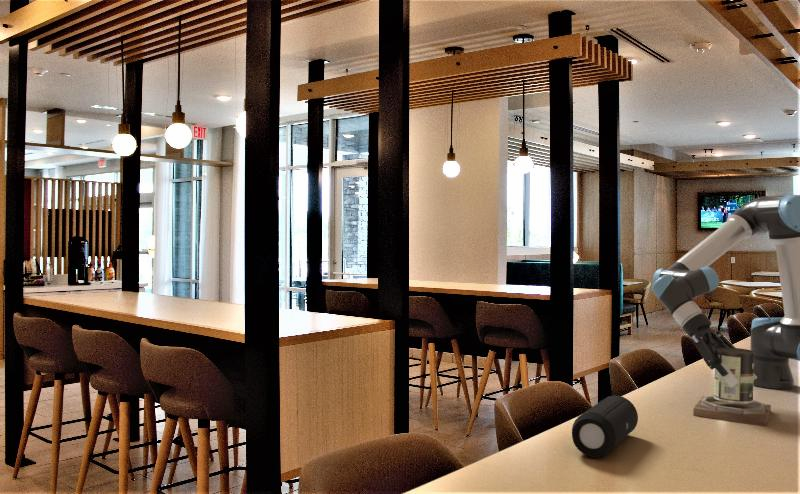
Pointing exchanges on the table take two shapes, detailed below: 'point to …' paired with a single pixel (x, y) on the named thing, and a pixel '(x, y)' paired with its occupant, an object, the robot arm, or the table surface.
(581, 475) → the table surface
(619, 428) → the portable speaker
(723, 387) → the coffee can
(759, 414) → the collar board
